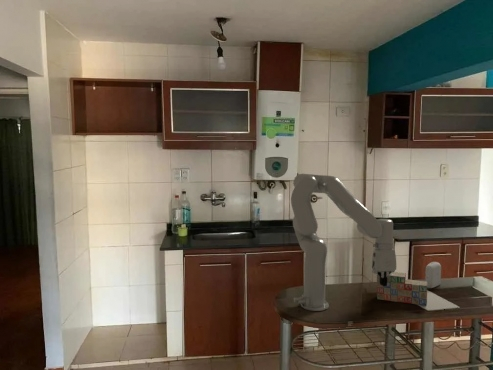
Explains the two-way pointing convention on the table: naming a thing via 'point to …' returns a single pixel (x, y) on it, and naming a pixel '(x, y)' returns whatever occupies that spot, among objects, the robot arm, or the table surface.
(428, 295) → the mat
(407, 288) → the stack of blocks
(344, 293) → the table surface
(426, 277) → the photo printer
